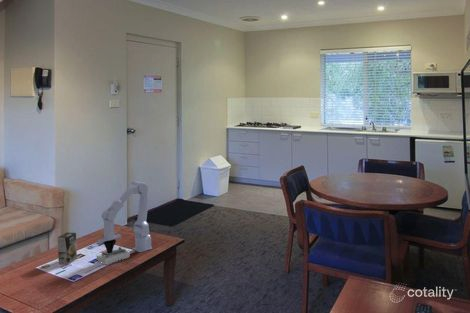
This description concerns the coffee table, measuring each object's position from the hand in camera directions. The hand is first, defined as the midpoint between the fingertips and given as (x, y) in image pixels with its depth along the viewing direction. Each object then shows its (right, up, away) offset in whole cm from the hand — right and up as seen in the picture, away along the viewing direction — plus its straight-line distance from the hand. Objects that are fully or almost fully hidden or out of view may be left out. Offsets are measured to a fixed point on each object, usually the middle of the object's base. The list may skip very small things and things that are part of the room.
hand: (109, 252), depth 234 cm
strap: (+2, -1, +2) cm, 3 cm away
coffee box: (-24, -5, -2) cm, 24 cm away
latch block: (+1, -4, +2) cm, 5 cm away
